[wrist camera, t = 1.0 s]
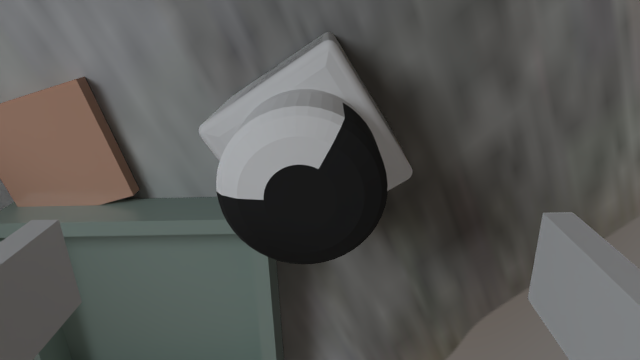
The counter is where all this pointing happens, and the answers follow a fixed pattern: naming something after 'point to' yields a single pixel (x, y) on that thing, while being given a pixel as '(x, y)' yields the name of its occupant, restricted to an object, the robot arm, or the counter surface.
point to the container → (304, 157)
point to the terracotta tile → (61, 150)
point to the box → (160, 283)
